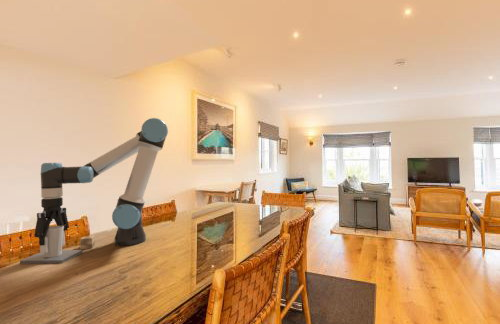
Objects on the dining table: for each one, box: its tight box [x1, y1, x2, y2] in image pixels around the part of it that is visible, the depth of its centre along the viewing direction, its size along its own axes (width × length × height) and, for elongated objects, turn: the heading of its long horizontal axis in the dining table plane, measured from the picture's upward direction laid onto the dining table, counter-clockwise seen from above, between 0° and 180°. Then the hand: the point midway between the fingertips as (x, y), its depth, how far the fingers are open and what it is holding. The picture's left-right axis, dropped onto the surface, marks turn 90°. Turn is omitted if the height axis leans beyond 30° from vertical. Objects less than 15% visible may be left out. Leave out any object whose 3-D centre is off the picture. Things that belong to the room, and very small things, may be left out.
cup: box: [44, 225, 64, 257], centre depth 117 cm, size 8×8×12 cm
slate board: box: [19, 249, 84, 264], centre depth 117 cm, size 18×13×1 cm
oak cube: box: [79, 235, 96, 250], centre depth 131 cm, size 5×5×5 cm
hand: (53, 248), depth 117 cm, fingers open, 9 cm apart
